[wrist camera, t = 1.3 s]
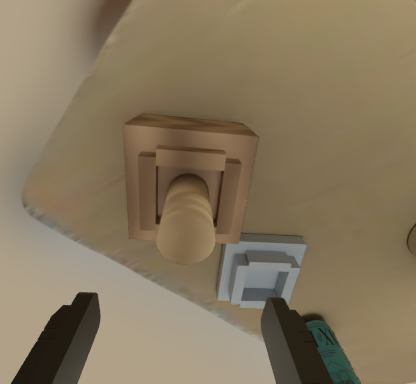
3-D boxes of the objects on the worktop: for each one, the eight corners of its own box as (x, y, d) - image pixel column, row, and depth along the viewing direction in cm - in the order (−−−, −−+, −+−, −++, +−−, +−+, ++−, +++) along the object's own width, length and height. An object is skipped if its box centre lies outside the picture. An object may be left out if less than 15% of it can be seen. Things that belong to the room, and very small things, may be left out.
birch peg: (210, 174, 22) (218, 218, 15) (206, 210, 24) (212, 265, 17) (168, 171, 22) (156, 214, 15) (167, 208, 24) (156, 263, 16)
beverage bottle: (330, 325, 46) (420, 484, 27) (300, 338, 47) (366, 499, 29) (317, 306, 43) (407, 468, 25) (286, 321, 44) (349, 485, 26)
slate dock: (301, 236, 36) (315, 255, 32) (283, 292, 41) (293, 315, 37) (225, 232, 35) (229, 252, 31) (216, 290, 40) (218, 314, 36)
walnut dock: (242, 123, 28) (263, 140, 20) (228, 209, 33) (241, 252, 25) (142, 113, 27) (118, 127, 19) (143, 204, 32) (125, 247, 24)
